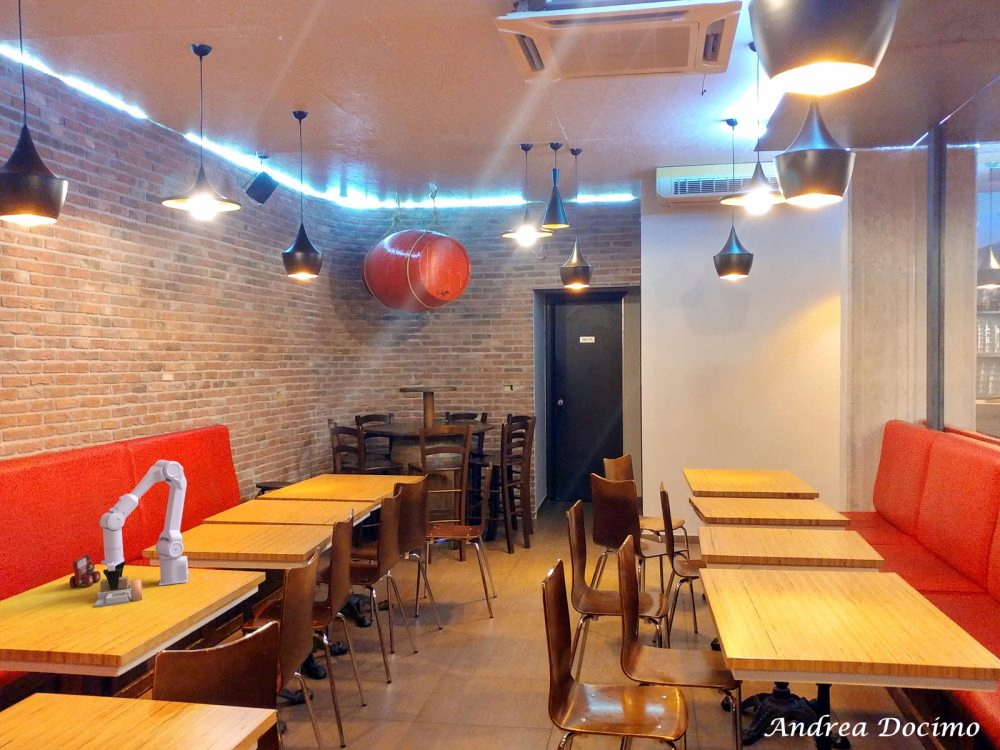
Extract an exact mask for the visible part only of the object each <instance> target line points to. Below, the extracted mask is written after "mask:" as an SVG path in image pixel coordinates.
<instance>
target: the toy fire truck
mask: <svg viewBox="0 0 1000 750" xmlns="http://www.w3.org/2000/svg"><path fill="white" fill-rule="evenodd" d="M72 568H73V572H74V575H72V576H70V579H69V582H68V584H69V586H70V588H77V587H78V586H79V585H81V586H82V585H84V586H85V587H89V586H90V587H92V586H93V584H94V583H100V582H101V572H100V571H99V570H96V567H95V564H94V562H93V559H92V558H90V555H89V554H85V555H83V556H81V557H80V558H77V559H75V560H73V562H72Z"/></svg>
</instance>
